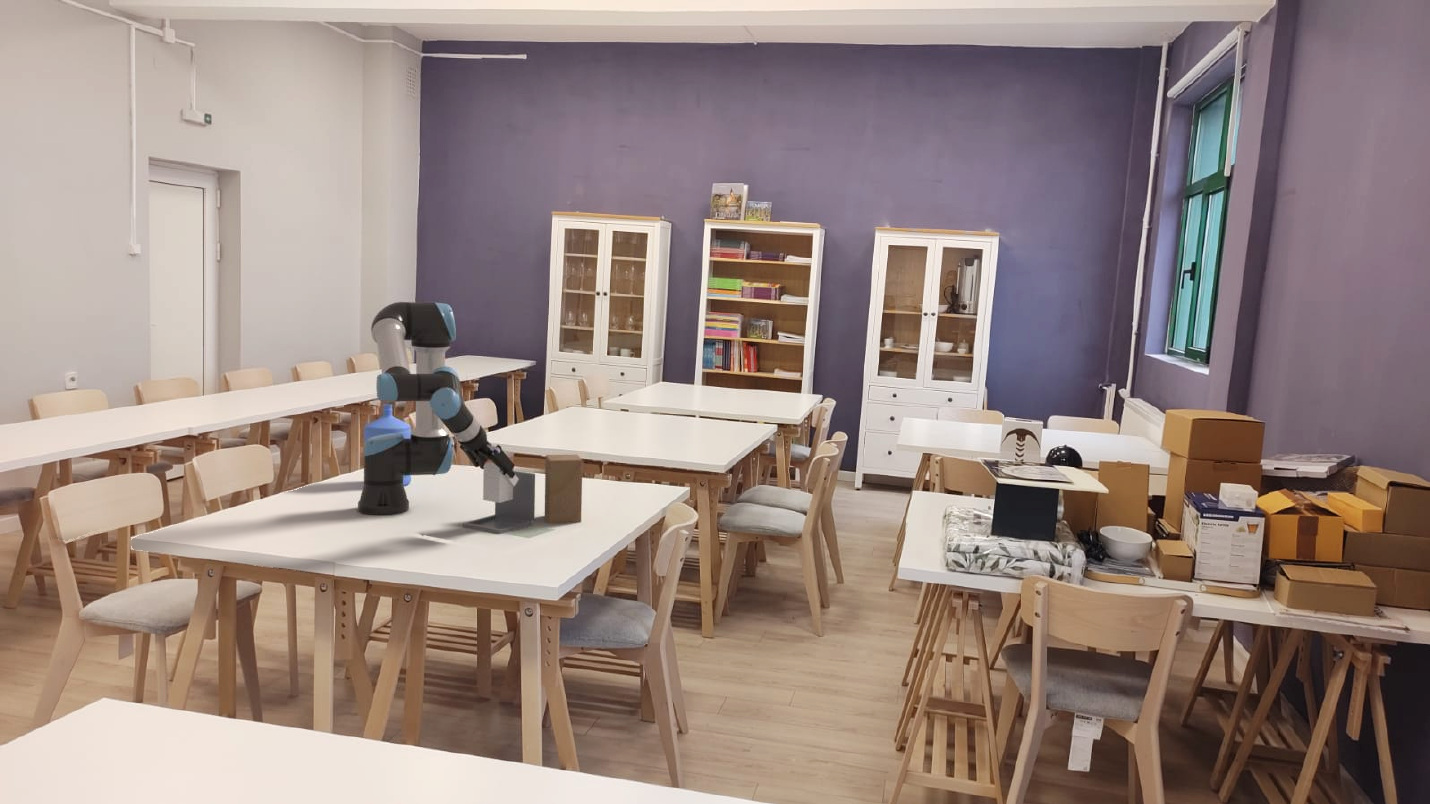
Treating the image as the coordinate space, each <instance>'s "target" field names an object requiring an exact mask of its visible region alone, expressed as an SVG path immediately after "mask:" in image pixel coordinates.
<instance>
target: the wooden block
mask: <svg viewBox="0 0 1430 804" xmlns="http://www.w3.org/2000/svg"><path fill="white" fill-rule="evenodd" d="M544 465H545V468H544V470H545V471H544V479H545V480H544V518H545V520H546V522H547V524H570V523H571V524H573V523H574V524H575V523H577V524H578V523H582V506H583V505H582V502H583V501H582V498H583V459H582V458H581V457H580V456H579V455H578V454H546V455H545V464H544Z"/></svg>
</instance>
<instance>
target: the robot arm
mask: <svg viewBox="0 0 1430 804" xmlns="http://www.w3.org/2000/svg"><path fill="white" fill-rule="evenodd" d="M370 327H371V328H370V330H371V337H372V339H373V342H375V343H376V346H377V351H378V357H379V363H380V369H381V373H380V374H378V375H377V377H376V382H375V384H376V389H375V390H376V397H377V400H378V401H381V402H391V403H395V402H398V403H399V402H415V427H414V428H413V429H411V437H410V438H407V439H404V436H403V435H402V434H398V433H397V434H384V435H379V436H374V437H371V438H369V439H367V440H366V441H365V443H364V442H363V443H364V444H363V453H362V455H363V488H362V490H361V494H360V498H359V500H358V502H357V511H358V512H359V513H361V514H366V515H378V516H379V515H383V516H384V515H393V514H400V513H401V514H402V513H403V512H407V511H408V510H409V509H410V500H409V499H408V496H407V492H406V490H405V486H403V476H408V475H410V476H427V475H429V476H431V475H433V476H436V475H444V474H447V473H448V472H450V470H451V467H452V465H453V459H454V453H455V441H454V439H455V440H456V441H457V442H458V444H459V445H460V446H459V448H460V449H461V450H462V451H463V452H464V453H465V455H466V456H467V458H468V459H469V461H470V462H471V463H472V464H473V466H474V467H475V468H478V467H479V468H480V469H481V470H484V457H485V458H486V459H490V460H491V461H492V462H493V463H494V464H495V465H496V466H498V467H499V468H500V469H501V470H502V471H503V475H504V476H505V477H506V478H507V480H508V481H509V482H510V484H511V485H512V486H514V487H515V485H516V483H517V481H518V480H519V479H518V477H517V476H516V475H515V473H514V472H513V470H514V469H515V468H514V467H515V464H513V462H512V461H511V460H510V459H509V458H508V456H507V455H506V454H505V453H504V452H503V448H502V445H499V444H497V445H496V446H494V445H493V444H491V442H489V440H488V435H487V432H486V430H485V429H484V428H483V427H482V425H481V424H480V423H479V421H478V419H476V418H475V416H474V415H473V413H472V412H471V411H470V410H469V408H468V407H467V405H466V403H465V400H464V396H463V391H462V387H461V386H462V385H461V381H460V378H459V374H458V372H457V371H456V370H455V369H454V368H453V367H450V366H447V365H446V352H447V351H448V350H449V349H450V348H451V342H454V341H455V340H456V339H457V330H456V328H457V327H456V321H455V315H454V312H453V309H452V307H451V306H450V305H449V304H448V303H443V302H442V303H441V302H421V301H420V302H414V301H413V302H410V301H408V302H407V301H406V302H405V301H396V302H393V303H390V304H388V305H386V306H385V307H383V308H382V309H380V311H379V312H378V313H377V314H376V315H375V316H374V318H373V320H372V323H371V326H370ZM405 341H410V342H411V347H412V349H413V350H415V352H416V354H415V355H416V364H415V365H416V367H415V368H416V369H415V371H416V373H412V372H411V368H410V364H409V363H410V362H409V359H408V355H407V354H408V353H407V349H406V348H407V347H406V343H405ZM445 427H446V428H447V429H448V430H447V429H446V428H445ZM450 433H451V434H452V435H453V436H454V438H453V437H451V436H450ZM512 469H513V470H512Z"/></svg>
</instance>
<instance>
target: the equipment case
mask: <svg viewBox="0 0 1430 804" xmlns="http://www.w3.org/2000/svg"><path fill="white" fill-rule="evenodd" d="M513 472H514V473H515V475H516V476H517V477H518V479H519V480H518V481H517V483H516V485H515V487H514V486H513V499H512V500H508V501H504V502H501V503H497V502H494V503H495V504H494V507H495V508H494V514H492V515H488V516H484V517H481V518H480V517H479V518H476V519H473V520H470V521H467V522H462V527H463V528H468V529H471V530H476V531H477V530H478V531H483V532H489V533H494V534H499V535H500V534H504V533H509V532H511V531H512V532H513V531H514V530H515V531H516V530H519V529H523V528H526V527H529V526H531V525H532V526H533V523H535V512H536V508H535V503H536V502H535V501H536V500H535V498H536V474H535V473H533V472H525V471H521V470H515V469H513Z"/></svg>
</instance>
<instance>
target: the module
mask: <svg viewBox="0 0 1430 804" xmlns="http://www.w3.org/2000/svg"><path fill="white" fill-rule="evenodd" d="M502 450H503V449H502ZM503 452H504V453H505V454H506V455H507V456H508V458H509V459H510V460H511V461H512V462H513V464H514V462H515V456H514V454H515V453H514V451H510V450H503ZM514 465H515V464H514ZM512 470H514V468H513V469H512ZM482 477H483V491H482V492H483V493H482V494H483V495H482V500H483V501H488V502H493V503H495V502H497V503H501V502H504V501H508V500H512V499H513V486H512V485H511V484H510V482H509V481H508V480H507V478H506V477H505V476H504V475H503V471H502V470H501V469H500V468H499V467H498V466H496V465H495V464H494V463H493V462H492V461H491V460H490V459H486V458H485V457H484V469H483V475H482Z"/></svg>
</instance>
